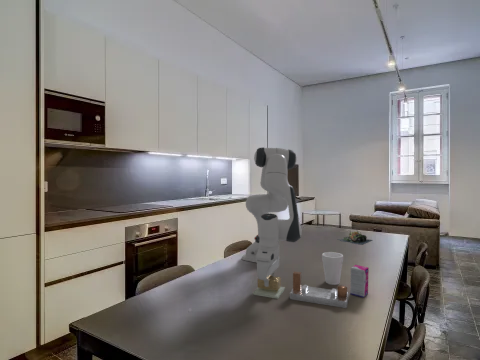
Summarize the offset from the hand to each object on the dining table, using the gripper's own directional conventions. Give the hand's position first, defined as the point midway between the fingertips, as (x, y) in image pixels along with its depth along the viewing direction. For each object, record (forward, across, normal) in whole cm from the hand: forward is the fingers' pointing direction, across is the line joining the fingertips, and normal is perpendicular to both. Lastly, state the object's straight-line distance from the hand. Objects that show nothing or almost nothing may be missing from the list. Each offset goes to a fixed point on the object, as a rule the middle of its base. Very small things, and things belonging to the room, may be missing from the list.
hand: (269, 283), depth 129 cm
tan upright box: (+2, 0, 0) cm, 2 cm away
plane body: (+4, -1, +21) cm, 21 cm away
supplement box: (+4, -12, +36) cm, 38 cm away
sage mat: (+4, 0, 0) cm, 4 cm away
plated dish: (+5, -122, +30) cm, 126 cm away
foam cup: (+4, -22, +24) cm, 33 cm away
